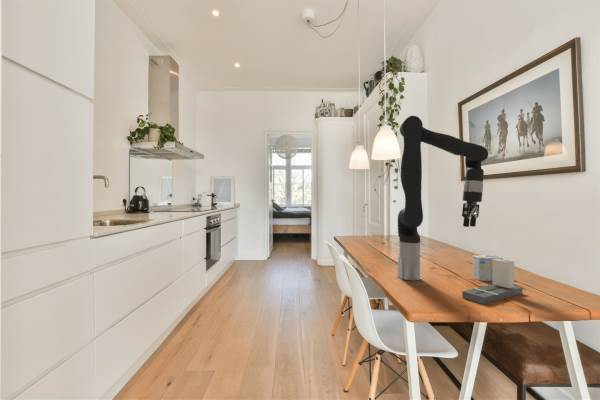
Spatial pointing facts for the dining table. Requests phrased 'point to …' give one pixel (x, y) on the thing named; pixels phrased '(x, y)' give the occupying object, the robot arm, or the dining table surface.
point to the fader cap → (503, 273)
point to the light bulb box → (483, 267)
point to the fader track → (490, 293)
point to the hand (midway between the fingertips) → (469, 226)
